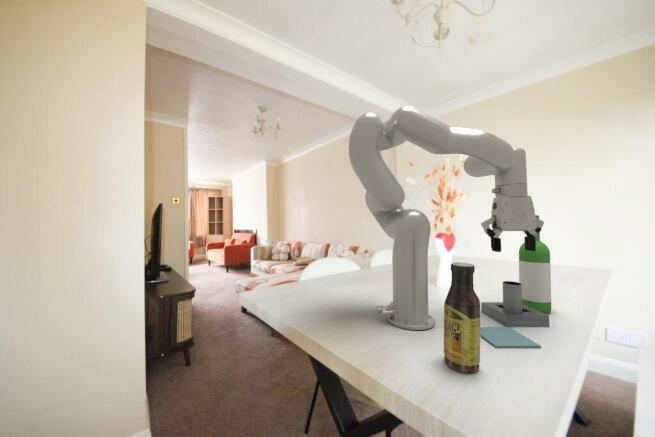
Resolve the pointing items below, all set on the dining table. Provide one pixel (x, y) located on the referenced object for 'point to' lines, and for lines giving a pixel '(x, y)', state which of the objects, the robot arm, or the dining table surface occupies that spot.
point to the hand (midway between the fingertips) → (513, 251)
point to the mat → (506, 338)
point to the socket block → (515, 315)
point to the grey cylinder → (512, 296)
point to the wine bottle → (535, 276)
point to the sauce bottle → (462, 321)
